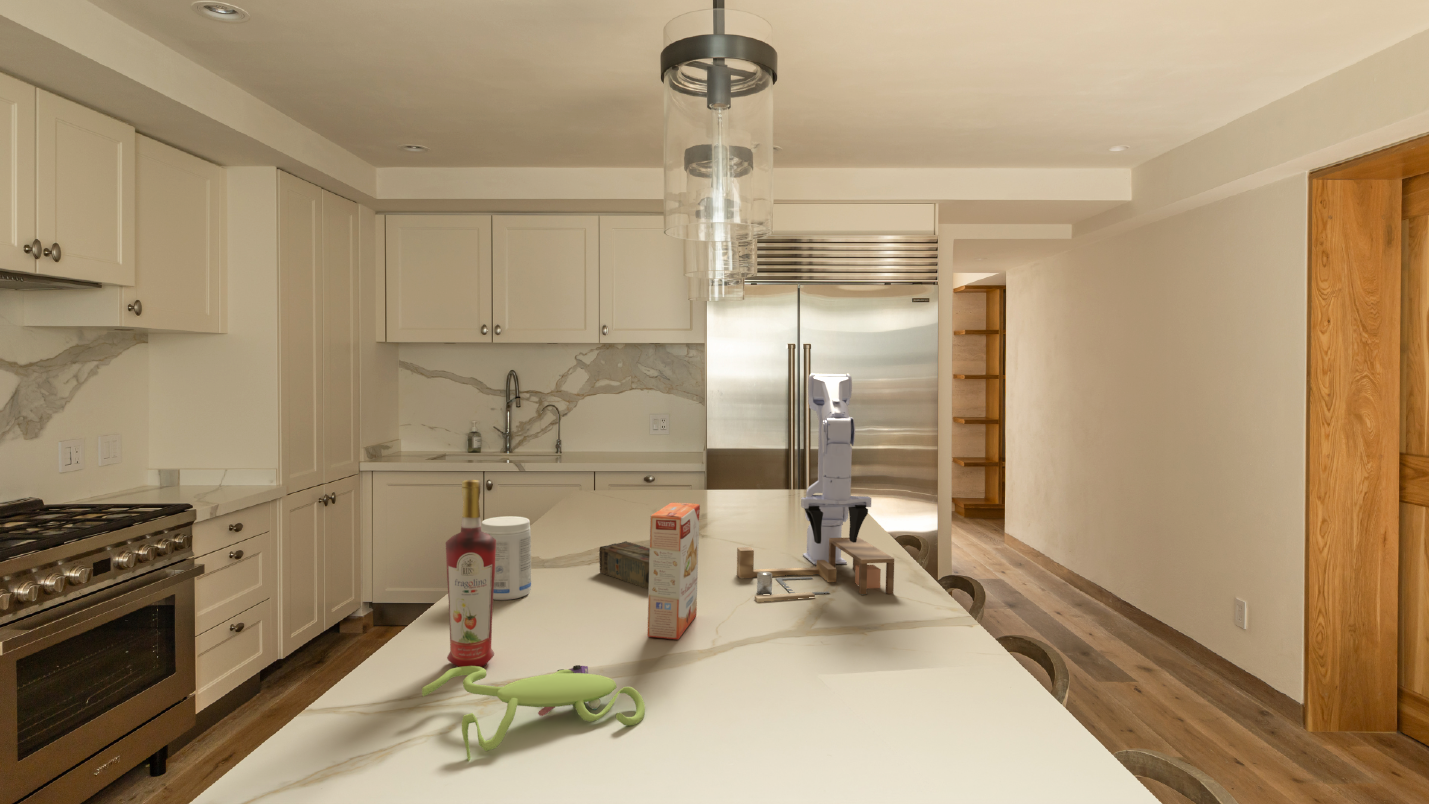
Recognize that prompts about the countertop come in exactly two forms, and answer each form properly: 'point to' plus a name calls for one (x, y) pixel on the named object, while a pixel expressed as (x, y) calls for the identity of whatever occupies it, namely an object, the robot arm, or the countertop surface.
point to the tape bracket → (795, 579)
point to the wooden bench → (863, 560)
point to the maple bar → (783, 596)
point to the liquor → (470, 585)
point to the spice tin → (764, 583)
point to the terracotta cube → (870, 576)
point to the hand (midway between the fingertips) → (835, 542)
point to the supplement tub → (510, 555)
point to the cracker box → (673, 569)
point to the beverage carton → (626, 562)
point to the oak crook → (747, 568)
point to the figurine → (541, 697)
